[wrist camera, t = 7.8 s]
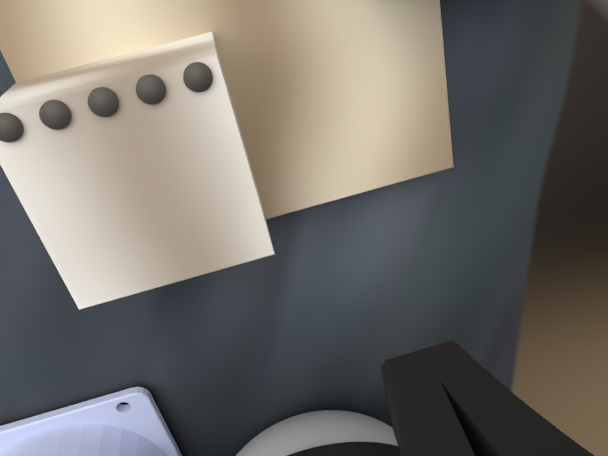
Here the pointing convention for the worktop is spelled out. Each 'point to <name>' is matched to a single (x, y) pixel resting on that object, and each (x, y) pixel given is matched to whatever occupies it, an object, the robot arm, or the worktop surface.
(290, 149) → the board
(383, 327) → the worktop surface
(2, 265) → the worktop surface
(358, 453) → the dark egg-shaped dome
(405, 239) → the worktop surface
